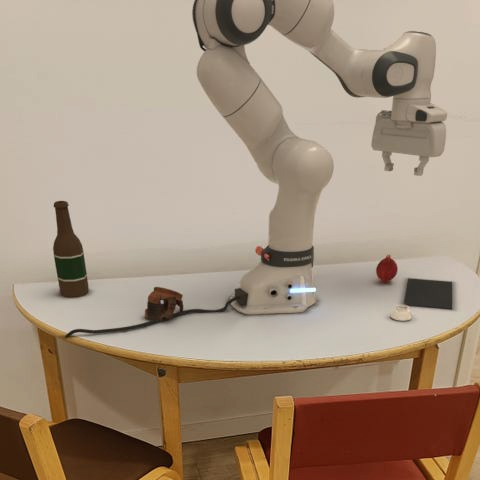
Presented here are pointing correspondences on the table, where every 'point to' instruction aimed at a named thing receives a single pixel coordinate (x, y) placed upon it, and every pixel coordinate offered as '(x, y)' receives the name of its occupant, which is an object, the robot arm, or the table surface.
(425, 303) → the placemat
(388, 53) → the robot arm
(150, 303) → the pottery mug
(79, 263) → the beer bottle
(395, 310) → the white jar
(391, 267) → the red round fruit
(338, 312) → the table surface
